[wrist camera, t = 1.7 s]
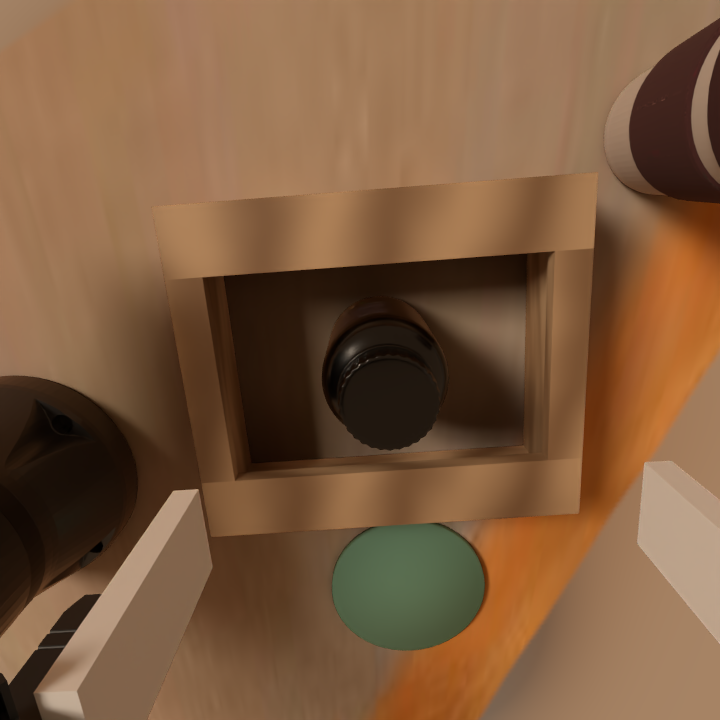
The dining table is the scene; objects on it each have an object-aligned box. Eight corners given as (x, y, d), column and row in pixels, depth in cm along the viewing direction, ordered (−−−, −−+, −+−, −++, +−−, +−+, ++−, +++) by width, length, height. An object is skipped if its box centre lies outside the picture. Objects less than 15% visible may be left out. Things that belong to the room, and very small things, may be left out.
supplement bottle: (447, 356, 35) (490, 427, 24) (364, 406, 36) (366, 498, 25) (395, 272, 33) (414, 305, 22) (310, 327, 34) (285, 385, 23)
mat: (338, 648, 42) (338, 654, 42) (325, 523, 39) (325, 528, 38) (483, 640, 42) (485, 645, 41) (482, 513, 39) (484, 518, 38)
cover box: (237, 479, 38) (210, 536, 31) (194, 207, 32) (151, 206, 26) (539, 459, 37) (579, 513, 31) (547, 180, 32) (598, 172, 25)
